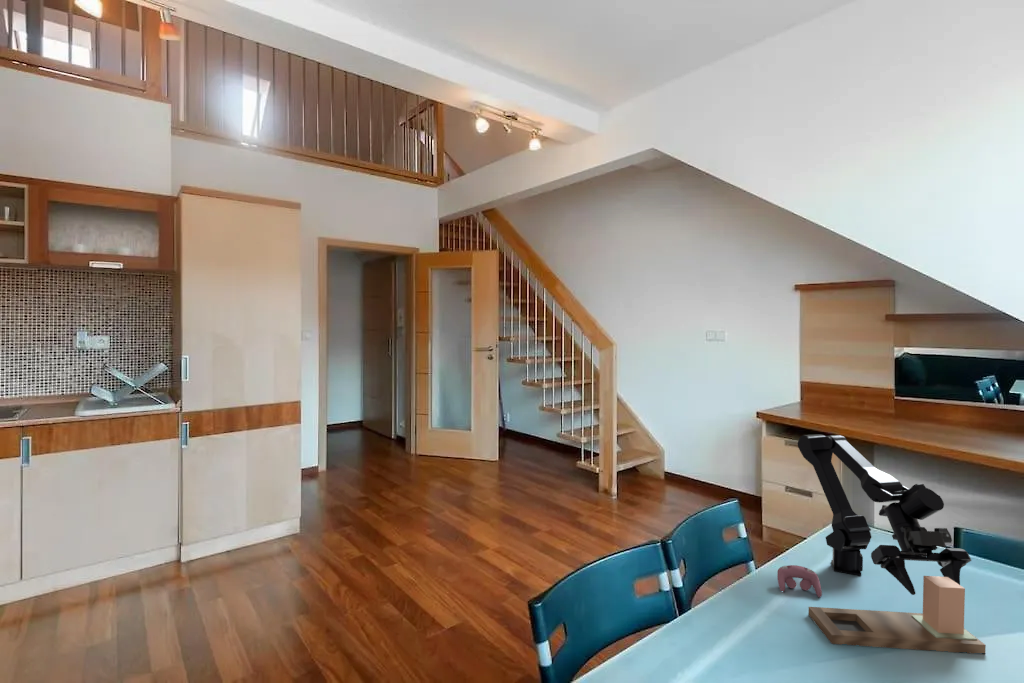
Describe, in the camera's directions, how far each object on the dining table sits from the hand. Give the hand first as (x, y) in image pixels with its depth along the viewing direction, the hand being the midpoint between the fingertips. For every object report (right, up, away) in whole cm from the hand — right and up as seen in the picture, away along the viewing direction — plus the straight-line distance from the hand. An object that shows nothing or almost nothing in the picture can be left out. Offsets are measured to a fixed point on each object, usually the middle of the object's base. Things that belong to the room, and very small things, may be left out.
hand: (936, 595), depth 114 cm
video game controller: (-21, -8, +18) cm, 29 cm away
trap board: (-10, -8, -1) cm, 13 cm away
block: (0, -6, -2) cm, 6 cm away
